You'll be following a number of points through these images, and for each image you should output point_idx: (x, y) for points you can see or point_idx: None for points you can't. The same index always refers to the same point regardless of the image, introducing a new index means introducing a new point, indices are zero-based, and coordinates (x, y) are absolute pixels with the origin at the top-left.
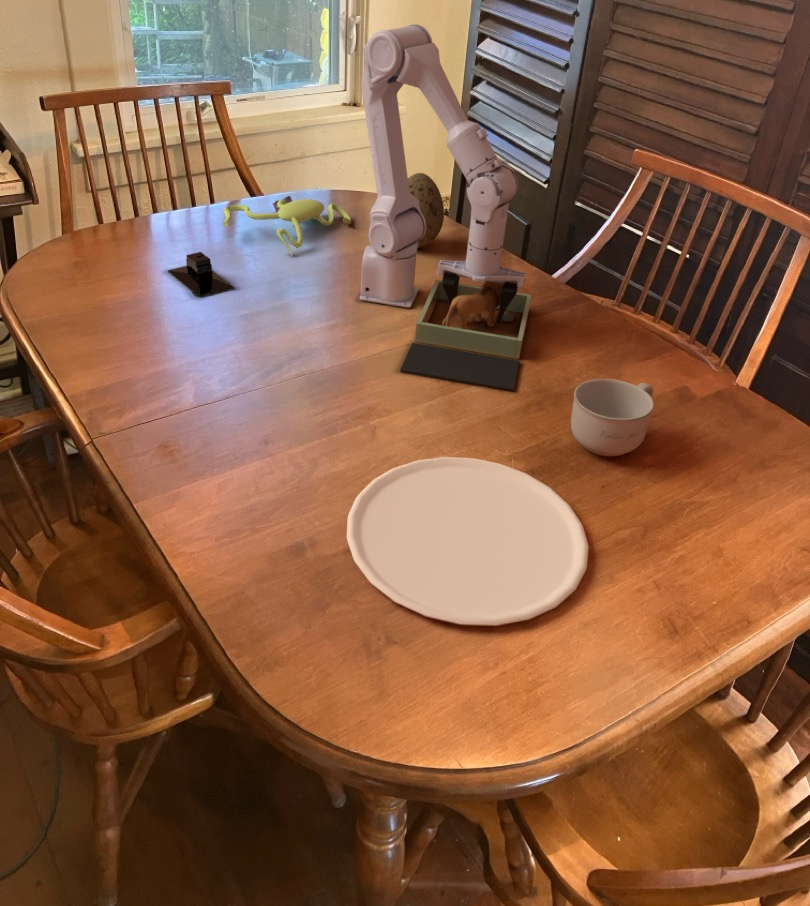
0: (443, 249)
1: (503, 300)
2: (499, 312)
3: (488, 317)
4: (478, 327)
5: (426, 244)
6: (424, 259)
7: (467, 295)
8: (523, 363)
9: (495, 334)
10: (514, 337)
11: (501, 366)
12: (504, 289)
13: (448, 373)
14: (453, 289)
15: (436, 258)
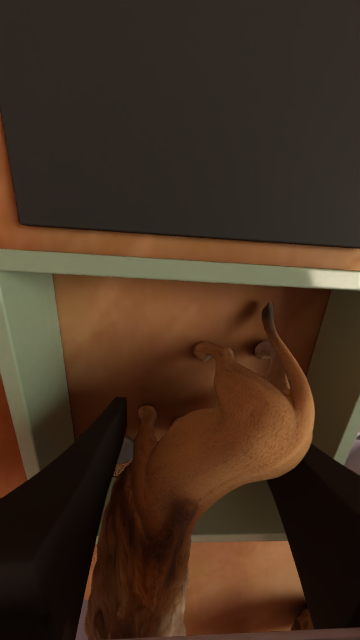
0: (260, 612)
1: (64, 480)
2: (106, 426)
3: (153, 423)
4: (176, 393)
5: (301, 626)
6: (295, 583)
7: (255, 476)
8: (14, 230)
9: (96, 272)
10: (10, 268)
11: (69, 160)
12: (19, 584)
13: (259, 26)
14: (348, 499)
15: (273, 590)
